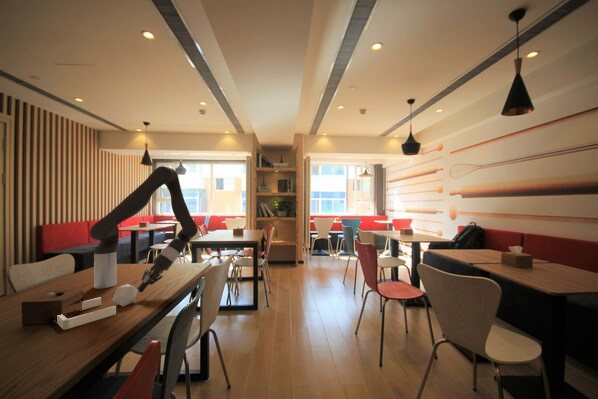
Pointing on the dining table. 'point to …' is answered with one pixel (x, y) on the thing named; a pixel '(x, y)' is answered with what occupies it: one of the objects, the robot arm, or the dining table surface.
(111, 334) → the dining table surface
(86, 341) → the dining table surface
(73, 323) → the corral
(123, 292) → the die
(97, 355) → the dining table surface
